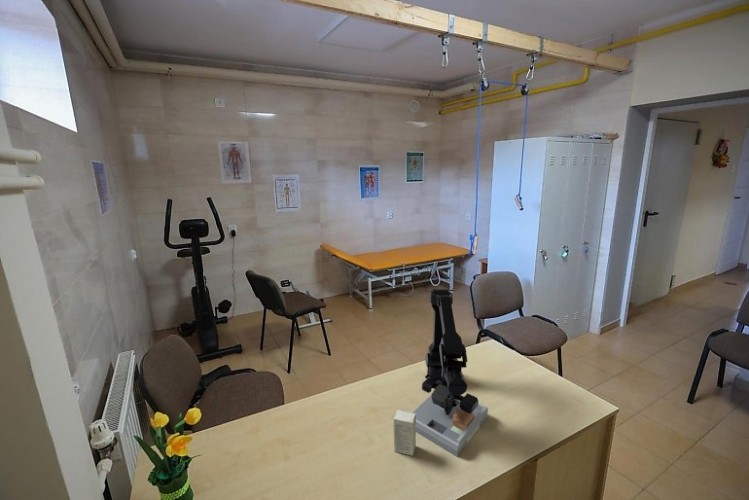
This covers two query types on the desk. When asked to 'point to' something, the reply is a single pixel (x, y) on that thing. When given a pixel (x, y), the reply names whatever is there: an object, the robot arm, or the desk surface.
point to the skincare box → (404, 432)
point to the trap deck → (446, 425)
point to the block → (462, 419)
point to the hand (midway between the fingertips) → (447, 414)
